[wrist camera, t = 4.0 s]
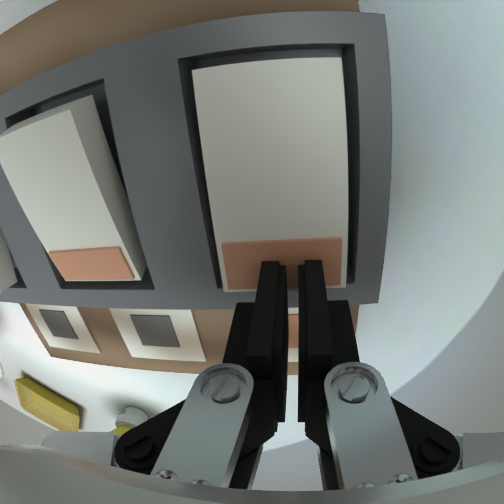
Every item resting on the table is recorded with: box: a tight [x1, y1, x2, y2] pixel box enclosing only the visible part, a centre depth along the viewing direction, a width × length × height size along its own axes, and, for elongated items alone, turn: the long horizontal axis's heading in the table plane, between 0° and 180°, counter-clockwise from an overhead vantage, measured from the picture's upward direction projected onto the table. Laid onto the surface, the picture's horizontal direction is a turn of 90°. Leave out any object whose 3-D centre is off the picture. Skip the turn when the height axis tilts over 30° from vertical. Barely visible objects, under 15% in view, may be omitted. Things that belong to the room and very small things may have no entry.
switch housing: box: [0, 11, 392, 310], centre depth 12 cm, size 10×22×3 cm, turn 96°
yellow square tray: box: [15, 378, 80, 432], centre depth 30 cm, size 9×9×2 cm
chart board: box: [0, 0, 359, 375], centre depth 15 cm, size 22×22×2 cm
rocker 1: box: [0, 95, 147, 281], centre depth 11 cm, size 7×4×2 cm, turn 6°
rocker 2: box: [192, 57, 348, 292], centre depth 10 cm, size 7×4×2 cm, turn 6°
